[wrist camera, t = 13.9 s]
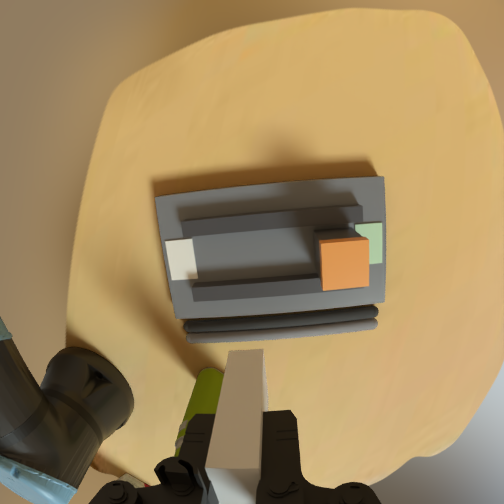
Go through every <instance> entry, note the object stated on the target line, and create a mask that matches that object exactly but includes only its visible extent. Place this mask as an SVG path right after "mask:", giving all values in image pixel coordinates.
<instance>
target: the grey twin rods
mask: <svg viewBox="0 0 504 504" xmlns="http://www.w3.org/2000/svg"><path fill="white" fill-rule="evenodd" d="M377 315H378V308H377V307H375V306H369V307H360V308H352V309H342V310H333V311H323V312H313V313H302V314H290V315H277V316H264V317H249V318H233V319H214V320H191V321H186V322H185V323H184V329H185V331H187V332H189V333H188V334H187V335H186V340H187V341H188V342H189V343H219V342H242V341H259V340H274V339H287V338H299V337H310V336H321V335H330V334H339V333H348V332H356V331H364V330H372V329H375V328H376V327H377V325H378V322H377V320H376V319H375V318H374V317H376V316H377ZM367 318H368V319H367ZM359 319H360V320H359ZM350 320H351V321H350ZM332 322H333V323H332ZM312 324H313V325H312ZM301 325H302V326H301ZM290 326H291V327H290ZM277 327H278V328H277ZM263 328H264V329H263ZM247 329H249V330H247ZM229 330H231V331H229ZM206 331H208V332H206Z"/></svg>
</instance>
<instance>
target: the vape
mask: <svg viewBox="0 0 504 504" xmlns="http://www.w3.org/2000/svg"><path fill="white" fill-rule="evenodd" d="M223 378H224V374H223V373H222V372H220V371H219V370H217V369H216V368H212V367H209V368H205V369H203V370H202V371H201V372H200V373H199V375H198V377H197V380H196V383H195V386H194V389H193V392H192V395H191V398H190V401H189V404H188V407H187V410H186V413H185V416H184V419H183V422H182V424H181V425H180V427H179V432H178V436H177V440H176V443H175V447H176V452H175V456H174V457H176V456H178V455H179V451H180V448H181V445H182V442H183V438H184V435H185V431H186V428H187V425H188V422H189V421H190V420H191V419H192V418H193V416H194V415H195V414H216V411H217V407H218V402H219V397H220V392H221V387H222V383H223Z"/></svg>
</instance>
